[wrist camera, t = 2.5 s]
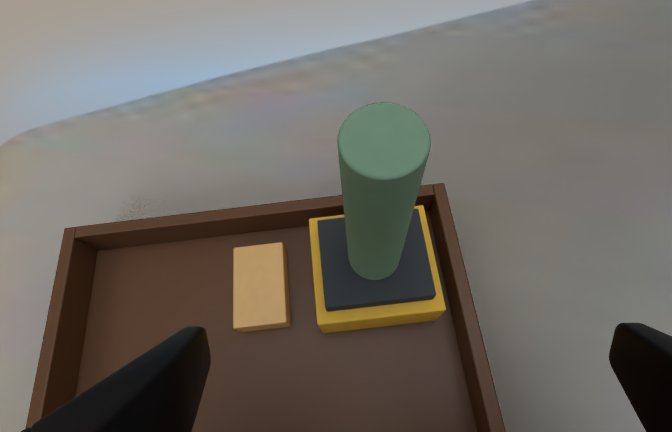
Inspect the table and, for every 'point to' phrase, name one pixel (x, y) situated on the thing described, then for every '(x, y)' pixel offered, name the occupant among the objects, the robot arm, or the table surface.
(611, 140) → the table surface
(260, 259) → the tan rectangular slab
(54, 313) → the tray
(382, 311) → the sponge wand
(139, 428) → the robot arm
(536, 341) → the table surface
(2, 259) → the table surface
